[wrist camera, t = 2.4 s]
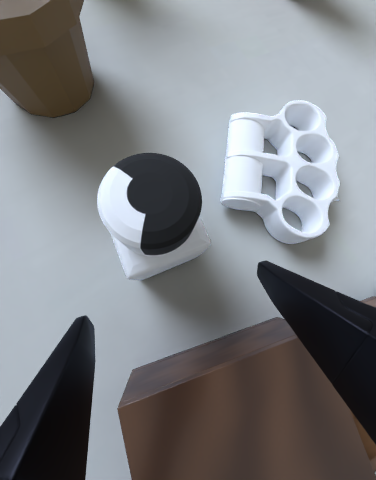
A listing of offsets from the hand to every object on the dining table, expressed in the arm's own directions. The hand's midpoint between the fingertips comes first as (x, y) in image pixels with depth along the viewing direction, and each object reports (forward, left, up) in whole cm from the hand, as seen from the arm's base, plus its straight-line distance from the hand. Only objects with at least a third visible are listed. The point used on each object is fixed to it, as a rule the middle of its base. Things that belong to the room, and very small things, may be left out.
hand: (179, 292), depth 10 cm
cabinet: (-7, -10, -12) cm, 17 cm away
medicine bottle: (+4, +4, -12) cm, 13 cm away
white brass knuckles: (+19, -5, -12) cm, 23 cm away
